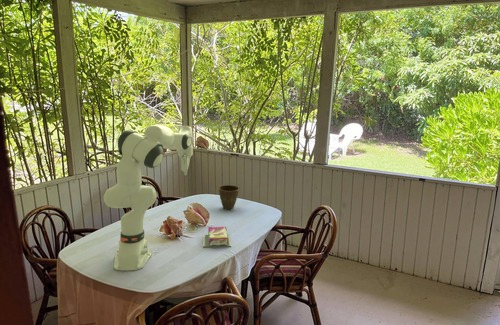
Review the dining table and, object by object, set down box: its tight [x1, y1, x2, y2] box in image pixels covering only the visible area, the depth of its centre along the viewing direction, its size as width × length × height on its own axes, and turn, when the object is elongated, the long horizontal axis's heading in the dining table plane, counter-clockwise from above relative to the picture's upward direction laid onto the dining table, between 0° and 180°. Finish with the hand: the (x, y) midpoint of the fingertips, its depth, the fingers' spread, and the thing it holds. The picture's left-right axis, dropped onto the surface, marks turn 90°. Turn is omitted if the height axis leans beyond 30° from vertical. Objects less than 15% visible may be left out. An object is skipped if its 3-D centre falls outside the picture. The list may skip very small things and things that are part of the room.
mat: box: [202, 233, 232, 248], centre depth 209 cm, size 16×16×1 cm
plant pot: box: [218, 184, 240, 211], centre depth 261 cm, size 15×15×16 cm
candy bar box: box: [207, 226, 229, 246], centre depth 209 cm, size 11×5×16 cm
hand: (185, 174), depth 212 cm, fingers closed
